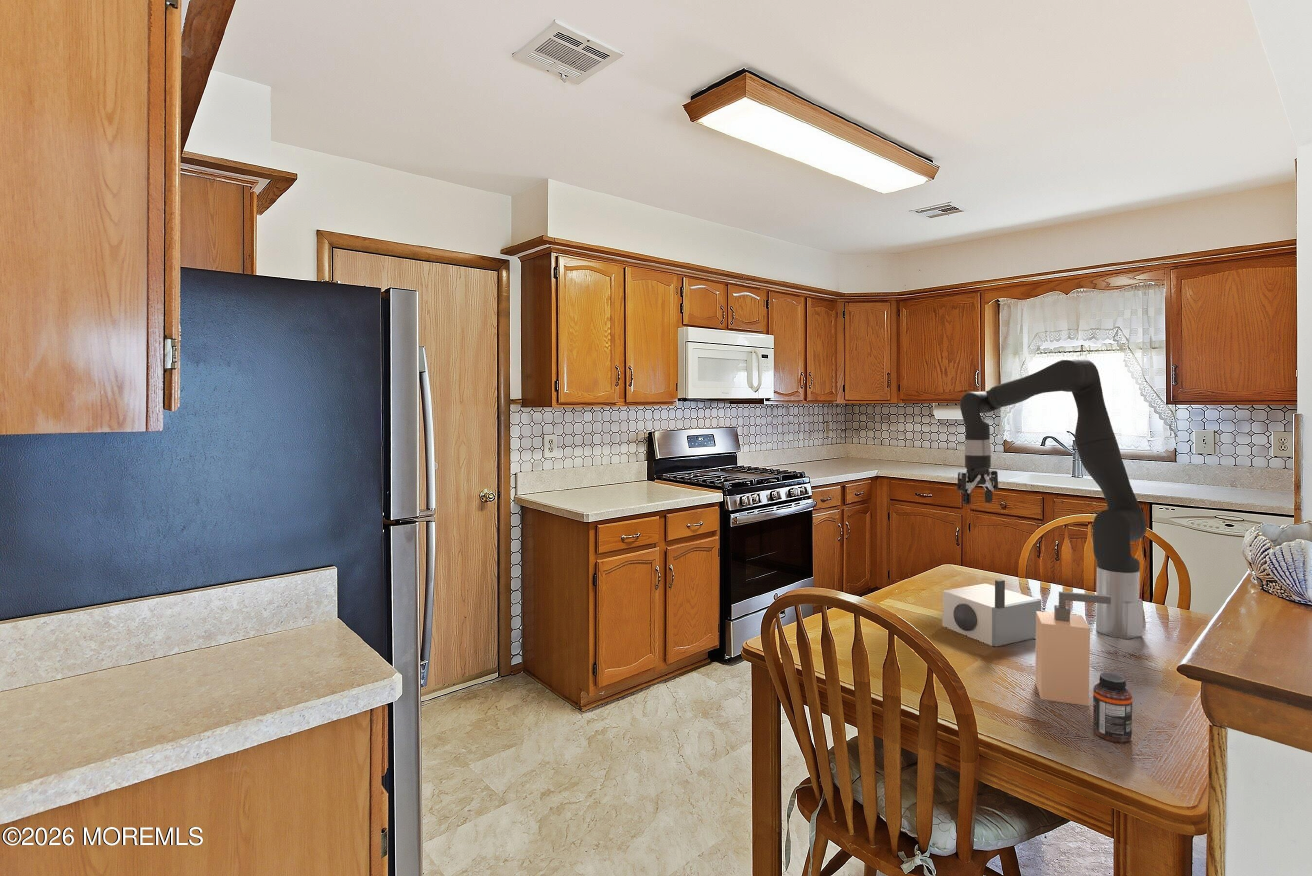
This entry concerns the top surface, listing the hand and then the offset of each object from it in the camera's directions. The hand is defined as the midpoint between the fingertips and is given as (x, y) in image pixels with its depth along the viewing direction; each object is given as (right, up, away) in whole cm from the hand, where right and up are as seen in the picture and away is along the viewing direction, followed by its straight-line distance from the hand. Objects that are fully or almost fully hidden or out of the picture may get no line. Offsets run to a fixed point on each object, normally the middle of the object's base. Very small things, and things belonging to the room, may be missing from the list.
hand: (977, 503), depth 210 cm
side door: (-11, -31, -43) cm, 54 cm away
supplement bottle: (-19, -35, -89) cm, 98 cm away
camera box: (-14, -31, -34) cm, 49 cm away
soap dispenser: (-16, -34, -73) cm, 82 cm away
